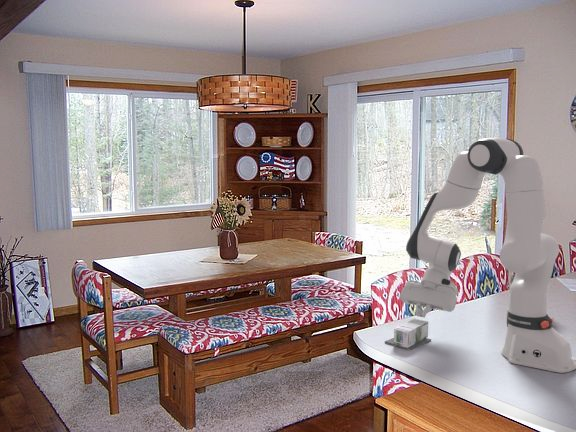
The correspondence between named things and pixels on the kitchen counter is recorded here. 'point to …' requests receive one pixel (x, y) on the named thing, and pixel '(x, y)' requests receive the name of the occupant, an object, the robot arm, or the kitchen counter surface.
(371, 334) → the kitchen counter surface
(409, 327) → the syrup box
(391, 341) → the mat
